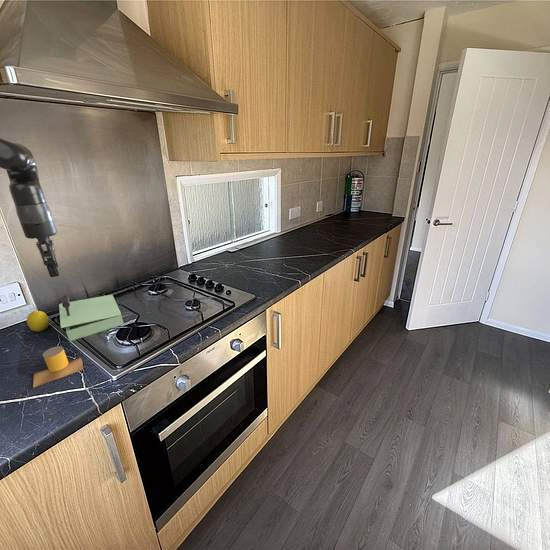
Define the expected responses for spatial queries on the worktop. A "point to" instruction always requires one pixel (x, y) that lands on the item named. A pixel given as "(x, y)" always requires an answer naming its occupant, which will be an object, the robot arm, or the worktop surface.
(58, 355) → the pod
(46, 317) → the lemon
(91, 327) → the box
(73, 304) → the lid
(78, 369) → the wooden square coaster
